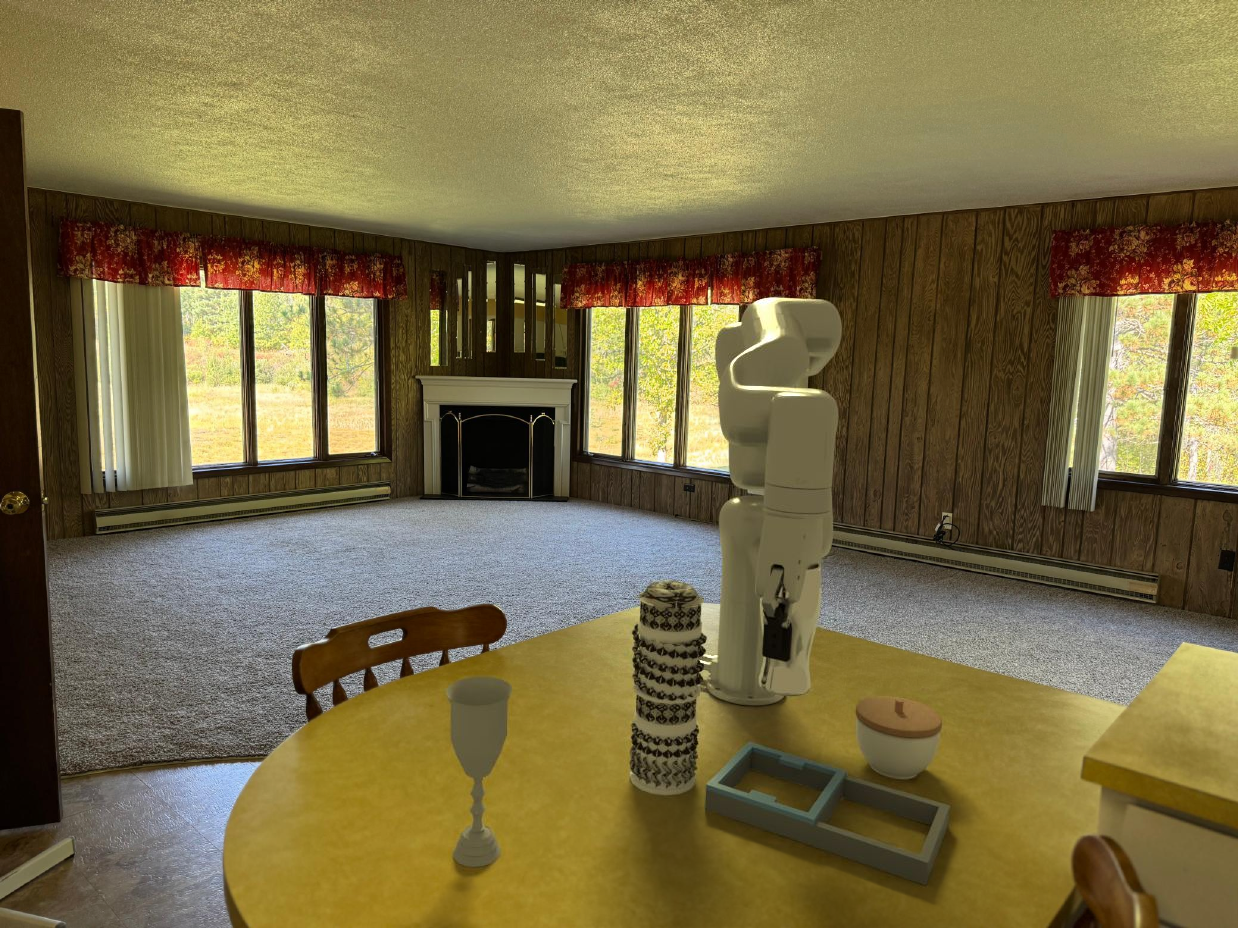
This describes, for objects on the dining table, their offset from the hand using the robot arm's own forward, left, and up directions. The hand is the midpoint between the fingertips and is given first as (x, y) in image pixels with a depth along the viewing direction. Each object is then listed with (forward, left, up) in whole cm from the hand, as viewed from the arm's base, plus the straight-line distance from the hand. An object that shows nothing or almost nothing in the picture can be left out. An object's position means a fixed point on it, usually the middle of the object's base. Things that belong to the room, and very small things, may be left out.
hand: (786, 648), depth 97 cm
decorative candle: (-14, -3, -20) cm, 24 cm away
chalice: (-23, -28, -20) cm, 41 cm away
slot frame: (+6, 0, -19) cm, 20 cm away
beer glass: (0, 0, -5) cm, 5 cm away
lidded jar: (+10, +17, -20) cm, 28 cm away
